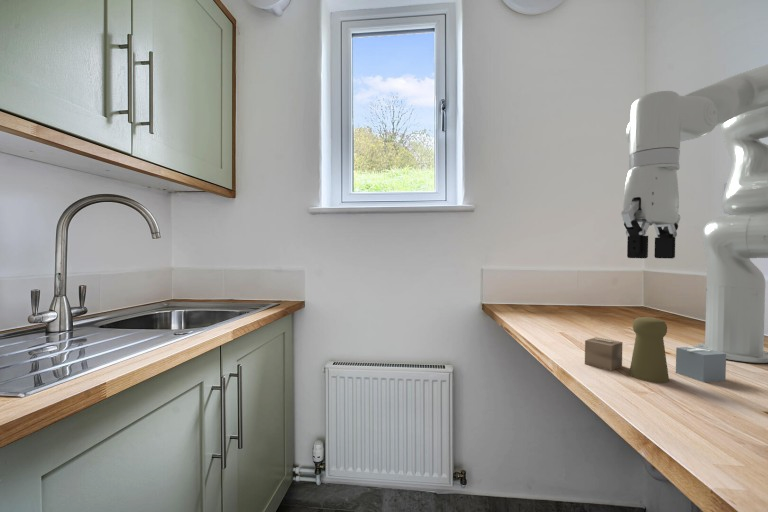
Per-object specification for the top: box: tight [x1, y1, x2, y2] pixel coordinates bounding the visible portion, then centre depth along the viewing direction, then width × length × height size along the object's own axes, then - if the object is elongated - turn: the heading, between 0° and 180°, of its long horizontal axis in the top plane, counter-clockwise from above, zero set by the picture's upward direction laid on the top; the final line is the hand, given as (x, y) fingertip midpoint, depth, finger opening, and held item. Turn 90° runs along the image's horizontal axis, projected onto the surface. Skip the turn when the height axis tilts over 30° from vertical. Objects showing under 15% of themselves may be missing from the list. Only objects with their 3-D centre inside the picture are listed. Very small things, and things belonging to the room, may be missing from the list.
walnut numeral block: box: [584, 336, 623, 372], centre depth 74 cm, size 5×5×5 cm
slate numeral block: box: [675, 345, 727, 383], centre depth 68 cm, size 5×5×5 cm
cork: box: [628, 316, 670, 384], centre depth 67 cm, size 6×6×11 cm
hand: (651, 257), depth 67 cm, fingers open, 8 cm apart
